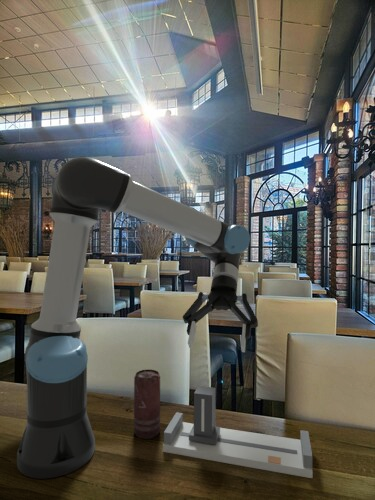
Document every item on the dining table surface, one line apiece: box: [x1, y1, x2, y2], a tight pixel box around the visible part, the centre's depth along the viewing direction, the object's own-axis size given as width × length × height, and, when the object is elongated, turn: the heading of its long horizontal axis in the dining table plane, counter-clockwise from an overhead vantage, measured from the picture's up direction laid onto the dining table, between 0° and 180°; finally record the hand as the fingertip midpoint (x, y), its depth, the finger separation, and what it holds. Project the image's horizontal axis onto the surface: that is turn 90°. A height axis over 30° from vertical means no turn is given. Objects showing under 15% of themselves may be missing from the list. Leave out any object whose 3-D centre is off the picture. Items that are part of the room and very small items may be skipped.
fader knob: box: [189, 385, 221, 445], centre depth 73 cm, size 6×5×10 cm
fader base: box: [162, 412, 314, 479], centre depth 71 cm, size 30×10×4 cm, turn 75°
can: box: [133, 369, 161, 440], centre depth 78 cm, size 6×6×14 cm
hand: (215, 347), depth 83 cm, fingers open, 13 cm apart
